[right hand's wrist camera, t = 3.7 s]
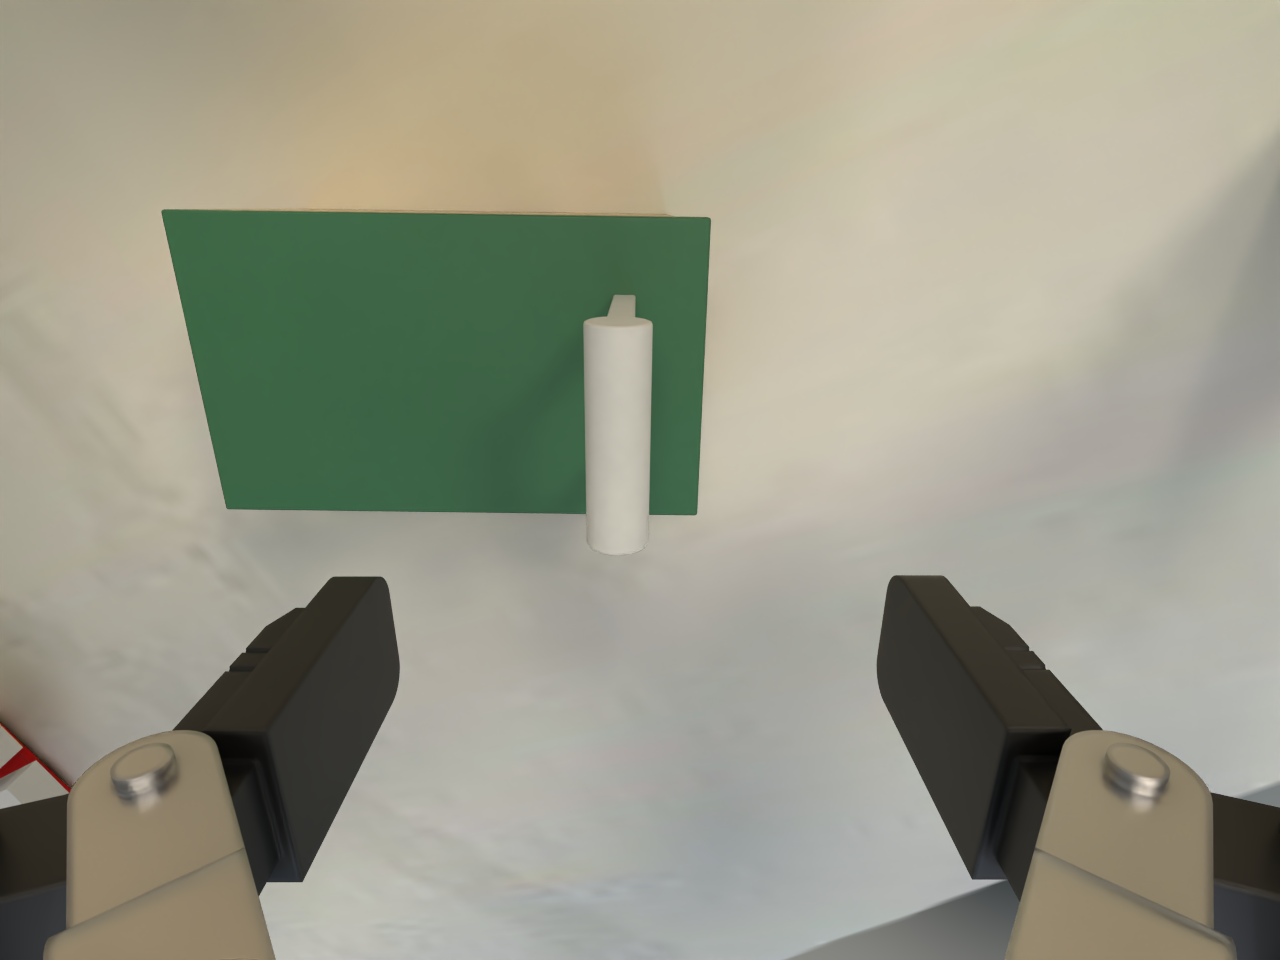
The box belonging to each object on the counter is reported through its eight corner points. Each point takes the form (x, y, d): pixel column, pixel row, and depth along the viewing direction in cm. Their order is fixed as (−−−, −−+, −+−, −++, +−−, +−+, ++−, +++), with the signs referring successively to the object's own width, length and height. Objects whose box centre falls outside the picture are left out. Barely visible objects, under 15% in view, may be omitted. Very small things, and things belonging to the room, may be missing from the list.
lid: (708, 217, 22) (744, 222, 14) (695, 506, 26) (718, 632, 18) (177, 209, 22) (-70, 210, 14) (238, 500, 26) (67, 624, 18)
